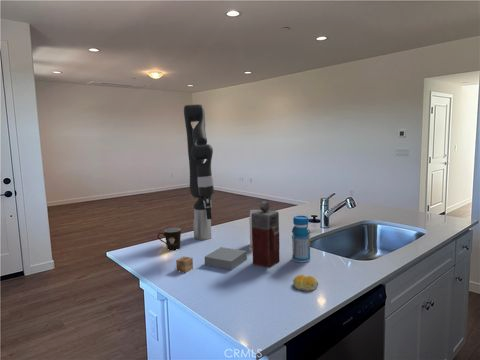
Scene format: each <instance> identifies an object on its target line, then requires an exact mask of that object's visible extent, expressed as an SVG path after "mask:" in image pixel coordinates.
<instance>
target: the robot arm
mask: <svg viewBox="0 0 480 360" xmlns="http://www.w3.org/2000/svg"><path fill="white" fill-rule="evenodd" d="M183 117H184V123H185V131H186V140H187V141H186V142H187V155H188V164H189V191H190V195H191V196H192V197H193V198H195V199H197V200H196V201H195V202H194V204H193V213H194V216H193V217H194V221H193V222H192V228H193V238H194V239H196V240H198V241H200V240H201V241H204V240H209V239H211V238H212V219H213V217H212V207H213V206H212V195H214V194H215V188H214V180H213V176H212V160H213V153H214V149H213V147H212V144H208V139H207V133H206V114H205V108H204V106H203V104H186V105H184V107H183ZM192 122H193V123H194V122H197V123H196V125H195V127H194V128H193V125H192ZM205 160H206V161H205Z"/></svg>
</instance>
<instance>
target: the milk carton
mask: <svg viewBox="0 0 480 360" xmlns="http://www.w3.org/2000/svg"><path fill="white" fill-rule="evenodd" d="M260 210H261V209H250V211H249V221H248V222H249V247H250V248H252V217H251V215H252V213H254V212H257V211H260Z"/></svg>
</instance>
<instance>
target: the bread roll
mask: <svg viewBox="0 0 480 360" xmlns="http://www.w3.org/2000/svg"><path fill="white" fill-rule="evenodd" d="M292 283H293V284H292V285H293V286H294V288H295V289H297V290H300V291H301V290H303V291H305V292H309V291H312V292H313V291H314V290H316V289H317V287H318V286H319V282H318V280H317V279H316V278H315V277H313V276H311V275H308V276H306V275H304V274H299V275H296V276H295V277H294V278H293V282H292Z"/></svg>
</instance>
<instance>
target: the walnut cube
mask: <svg viewBox="0 0 480 360" xmlns="http://www.w3.org/2000/svg"><path fill="white" fill-rule="evenodd" d="M175 261H176V262H175V264H176V265H175V266H176V272H179V271H180V273H183V272H185V273H184V274H186V272H187V273H189V272H190V271H192V270H194V263H193V257H189V256H181V257H178V258H177V259H175ZM191 269H192V270H191Z"/></svg>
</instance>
